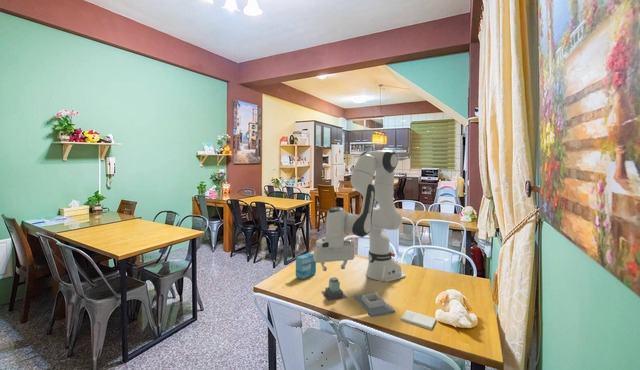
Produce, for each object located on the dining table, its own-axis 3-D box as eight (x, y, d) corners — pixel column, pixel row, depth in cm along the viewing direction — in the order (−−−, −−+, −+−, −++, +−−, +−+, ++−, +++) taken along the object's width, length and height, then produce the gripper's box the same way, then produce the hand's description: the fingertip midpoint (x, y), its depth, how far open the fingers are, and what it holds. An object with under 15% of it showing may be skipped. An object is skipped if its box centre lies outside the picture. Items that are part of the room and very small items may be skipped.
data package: (301, 280, 160) (301, 259, 159) (295, 278, 163) (295, 257, 162) (315, 274, 169) (316, 253, 168) (310, 272, 172) (310, 252, 171)
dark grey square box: (339, 290, 148) (339, 284, 148) (347, 299, 139) (347, 292, 138) (320, 293, 145) (321, 286, 144) (328, 303, 135) (328, 295, 135)
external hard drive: (431, 331, 115) (400, 321, 122) (436, 322, 122) (406, 312, 129) (431, 327, 115) (400, 317, 122) (436, 318, 122) (406, 309, 129)
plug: (336, 292, 144) (336, 276, 143) (339, 295, 140) (339, 279, 140) (328, 293, 143) (328, 277, 142) (331, 297, 139) (331, 280, 138)
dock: (374, 294, 144) (374, 287, 144) (395, 312, 127) (395, 305, 127) (352, 297, 140) (352, 291, 140) (370, 317, 124) (371, 309, 123)
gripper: (351, 238, 145) (350, 265, 146) (312, 241, 139) (311, 269, 140) (357, 241, 139) (356, 270, 140) (316, 244, 133) (315, 274, 134)
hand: (333, 269), depth 140 cm, fingers open, 8 cm apart
